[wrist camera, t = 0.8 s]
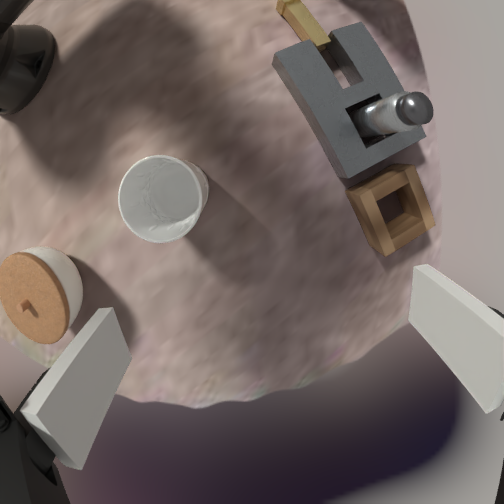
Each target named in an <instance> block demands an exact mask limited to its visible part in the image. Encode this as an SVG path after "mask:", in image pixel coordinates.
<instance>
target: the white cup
mask: <svg viewBox="0 0 504 504" xmlns="http://www.w3.org/2000/svg"><path fill="white" fill-rule="evenodd" d="M209 190H210V188H209V184H208V180H207V176H206V175H205V174H204V172H203V171H202V170H201V169H200V168H199V167H198V166H196V165H194V164H193V163H191V162H189V161H186V160H183V159H179V158H175V157H171V156H167V155H154V156H149V157H146V158H144V159H142V160H140V161H138V162H137V163H135V164H134V165H133V166H132V167H131V168H130V169H129V170H128V171H127V173H126V174H125V176H124V178H123V180H122V182H121V185H120V188H119V194H118V203H119V209H120V213H121V216H122V218H123V220H124V222H125V224H126V225H127V226H128V228H129V229H130V230H131V231H132V232H133V233H134V234H135V235H137V236H138V237H140V238H142V239H144V240H146V241H149V242H153V243H168V242H172V241H175V240H178V239H180V238H181V237H183V236H184V235H186V234H187V233H188V232H189V231H190V230H191V229H192V228H193V226H194V225H195V224H196V222H197V220H198V218H199V216H200V215H201V213H202V211H203V209H204V207H205V205H206V202H207V199H208V194H209Z"/></svg>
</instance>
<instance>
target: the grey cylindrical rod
mask: <svg viewBox="0 0 504 504" xmlns="http://www.w3.org/2000/svg"><path fill="white" fill-rule="evenodd" d="M349 117H350V119H351V121H352V123H353V125H354V126H355V128H356V130H357V132H358V134H359V136H360V138H365V137H371V136H377V135H383V134H390V133H397V132H404V131H411V130H416V129H418V128H420V127H421V125H422V124H427V123H429V122H430V121H431V119H432V117H433V106H432V104H431V101H430V100H429V98H428V97H427V96H426V95H424V94H423V93H421V92H412V93H410V92H406V91H402V92H399V93H396V94H394V95H391V96H388V97H386V98H383V99H381V100H379V101H376V102H374V103H371V104H369V105H367V106H364V107H362V108H360V109H357V110H355V111H353V112H351V113H350V114H349Z"/></svg>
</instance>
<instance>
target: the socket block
mask: <svg viewBox="0 0 504 504" xmlns="http://www.w3.org/2000/svg"><path fill="white" fill-rule="evenodd" d="M328 37H329V39H330V40H331V42H330V43H329V45H328V46H327V47H326V48H327V49H328V51H329V52H330V54H331V55H332V57H333V58H334V60H335V61H336V63H337V64H338V66H339V67H340V69H341V71H342V72H343V74H344V75H345V77H346V79H347V80H348V82H349V84H350V85H351V86H350V87H348V88H345V89H342V87H341V85H340V84H339V82H338V81H337V79H336V77H335V76H334V74H333V73H332V71H331V69H330V68H329V66H328V65H327V63H326V62H325V60H324V59H323V57H322V56H321V54H320V53H319V51H318V50H317V48H316V47H315V45H314V44H313V43H312V41H311V40H310V39H308V40H305V41H303V42H300V43H298V44H295V45H293V46H290V47H288V48H285V49H283V50H281V51H278V52H276V53H275V54H274V58H273V62H272V65H273V67H274V68H275V70H276V71H277V73H278V74H279V76H280V77H281V79H282V81H283V82H284V84H285V85H286V87H287V88H288V90H289V92H290V93H291V95H292V96H293V98H294V100H295V101H296V103H297V104H298V106H299V108H300V109H301V111H302V113H303V114H304V116H305V118H306V120H307V121H308V123H309V125H310V126H311V128H312V130H313V132H314V133H315V135H316V137H317V139H318V141H319V142H320V144H321V146H322V148H323V150H324V152H325V153H326V155H327V157H328V159H329V161H330V163H331V165H332V167H333V169H334V171H335V172H336V174H337V176H338V177H342V178H348V179H349V178H350V177H352V176H354V175H356V174H358V173H360V172H362V171H363V170H365V169H367V168H369V167H371V166H373V165H374V164H376V163H378V162H380V161H382V160H384V159H386V158H387V157H389V156H391V155H393V154H395V153H397V152H399V151H400V150H402V149H404V148H406V147H408V146H410V145H412V144H414V143H416V142H417V141H419V140H421V139H423V138H425V137H426V135H425V133H424V130H423V128H422V126H421V127H420V128H418V129H416V130H411V131H404V132H397V133H390V134H384V135H382V136H380V137H378V138H376V139H374V140H372V141H370V142H368V143H366V144H363V142H362V140H361V138H360V136H359V134H358V132H357V130H356V128H355V126H354V125H353V123H352V121H351V119H350V117H349V115H348V114H347V112H346V110H345V109H346V108H348V107H350V106H352V105H354V104H357V103H359V102H361V101H363V100H367V101H368V103H369V104H371V103H374V102H376V101H379V100H381V99H383V98H386V97H388V96H391V95H394V94H396V93H399V92H402V91H404V89H403V87H402V85H401V84H400V82H399V80H398V78H397V76H396V75H395V73H394V71H393V69H392V68H391V66H390V64H389V63H388V61H387V59H386V58H385V56H384V55H383V53H382V51H381V50H380V48H379V47H378V45H377V44H376V42H375V41H374V39H373V38H372V36H371V35H370V33H369V32H368V30H367V29H366V27H365V26H364V25H363V23H362V22H359V23H355V24H352V25H349V26H345V27H342V28H339V29H336V30H333V31H331V32H330V34H329V35H328Z"/></svg>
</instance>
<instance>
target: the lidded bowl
mask: <svg viewBox="0 0 504 504" xmlns="http://www.w3.org/2000/svg"><path fill="white" fill-rule="evenodd" d="M0 299H1V302H2V305H3V307H4V309H5V311H6V313H7V315H8V317H9V318H10V320H11V321H12V323H13V324H14V325H15V326H16V327H17V329H18V330H19V331H20V332H21V333H23V334H24V335H25V336H26V337H28V338H29V339H31V340H33V341H35V342H38V343H41V344H52V343H55V342H57V341H59V340H60V339H61V338H62V337H63V335H64V334H65V333H66V331H67V329H68V328H69V327H70V326H71V325H72V323H73V322H74V320H75V319H76V317H77V315H78V313H79V311H80V308H81V304H82V300H83V285H82V280H81V277H80V274H79V271H78V269H77V267H76V265H75V264H74V263H73V261H72V260H71V259H70V258H69V257H68V256H67V255H65V254H64V253H63V252H61V251H59V250H57V249H55V248H52V247H47V246H37V247H32V248H28V249H25V250H23V251H21V252H18V253H15V254H12V255H10V256H9V257H7V258H6V259H5V260H4V261H3V263H2V265H1V267H0Z"/></svg>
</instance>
